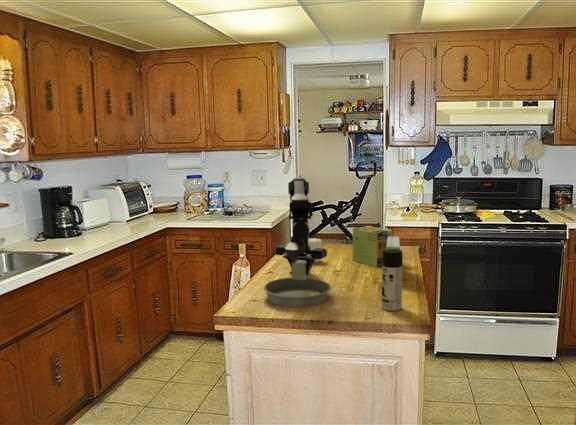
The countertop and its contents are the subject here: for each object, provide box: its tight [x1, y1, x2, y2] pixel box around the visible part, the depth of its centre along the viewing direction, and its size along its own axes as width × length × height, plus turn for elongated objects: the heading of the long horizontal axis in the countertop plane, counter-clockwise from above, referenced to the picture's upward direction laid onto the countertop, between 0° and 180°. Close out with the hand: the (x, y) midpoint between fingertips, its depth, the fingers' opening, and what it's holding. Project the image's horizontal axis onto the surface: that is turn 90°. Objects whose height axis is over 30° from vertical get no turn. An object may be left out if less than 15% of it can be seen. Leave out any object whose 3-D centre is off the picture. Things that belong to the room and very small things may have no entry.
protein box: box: [352, 225, 393, 267], centre depth 234 cm, size 10×15×16 cm
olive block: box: [291, 260, 311, 280], centre depth 187 cm, size 5×5×6 cm
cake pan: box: [263, 276, 332, 308], centre depth 186 cm, size 25×25×4 cm
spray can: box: [381, 249, 403, 312], centre depth 171 cm, size 7×7×20 cm
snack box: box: [386, 236, 401, 250], centre depth 210 cm, size 21×6×15 cm, turn 168°
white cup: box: [306, 237, 322, 263], centre depth 238 cm, size 8×8×10 cm
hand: (301, 274), depth 187 cm, fingers closed on olive block, 5 cm apart
